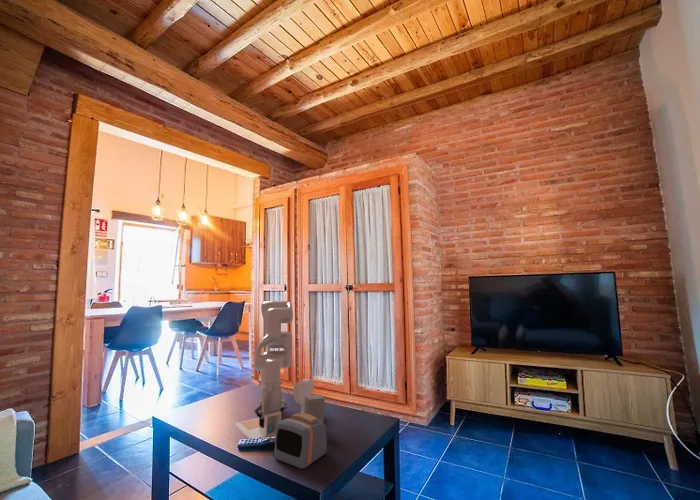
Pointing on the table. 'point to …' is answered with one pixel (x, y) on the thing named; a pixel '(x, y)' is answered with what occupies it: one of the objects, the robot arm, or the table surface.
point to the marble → (269, 428)
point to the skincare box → (315, 406)
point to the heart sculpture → (303, 391)
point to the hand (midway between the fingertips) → (269, 424)
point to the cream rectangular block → (270, 421)
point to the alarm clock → (300, 440)
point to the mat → (253, 429)
